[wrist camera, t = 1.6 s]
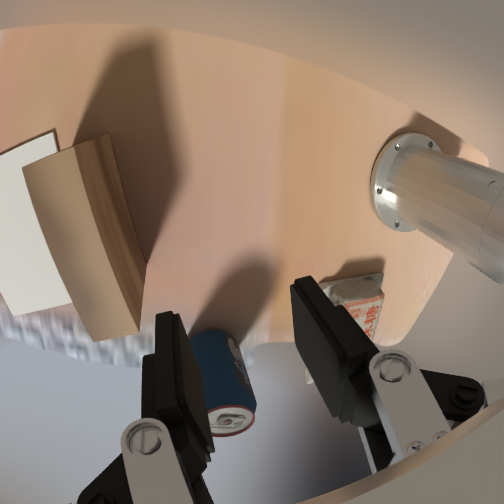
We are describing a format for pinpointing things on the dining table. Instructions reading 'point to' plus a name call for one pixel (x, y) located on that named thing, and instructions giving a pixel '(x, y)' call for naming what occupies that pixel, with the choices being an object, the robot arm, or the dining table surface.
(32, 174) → the wooden block
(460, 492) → the robot arm
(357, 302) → the packaged product
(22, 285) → the mat
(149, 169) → the dining table surface
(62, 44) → the dining table surface
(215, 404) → the soda can
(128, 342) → the dining table surface
